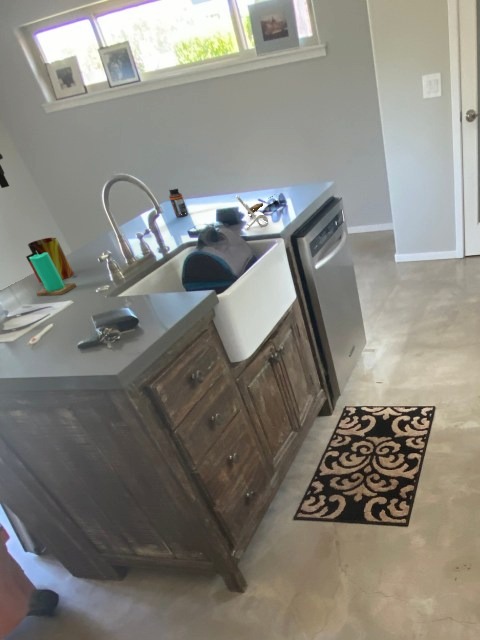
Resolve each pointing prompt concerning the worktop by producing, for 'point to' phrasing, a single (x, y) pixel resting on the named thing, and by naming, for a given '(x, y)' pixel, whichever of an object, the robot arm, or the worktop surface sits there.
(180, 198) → the supplement bottle
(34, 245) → the mug
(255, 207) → the tap handle
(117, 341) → the worktop surface
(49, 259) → the candle
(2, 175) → the robot arm
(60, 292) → the cork mat
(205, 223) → the worktop surface
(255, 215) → the plastic part
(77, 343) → the worktop surface
